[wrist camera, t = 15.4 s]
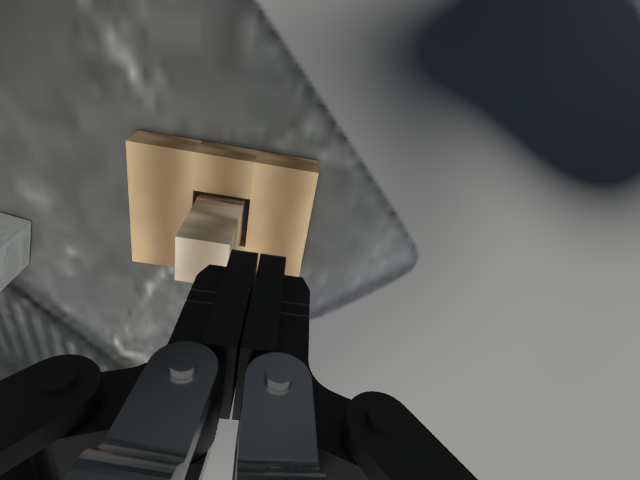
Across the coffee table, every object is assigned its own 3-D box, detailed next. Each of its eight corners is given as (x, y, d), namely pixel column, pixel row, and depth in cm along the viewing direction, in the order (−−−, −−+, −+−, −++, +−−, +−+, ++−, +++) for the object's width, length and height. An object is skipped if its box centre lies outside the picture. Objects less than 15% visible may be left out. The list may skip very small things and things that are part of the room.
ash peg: (203, 220, 41) (174, 280, 33) (205, 182, 39) (174, 235, 31) (245, 226, 42) (226, 287, 33) (249, 189, 40) (230, 244, 31)
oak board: (143, 244, 43) (132, 261, 40) (139, 129, 37) (125, 140, 34) (298, 267, 44) (297, 284, 42) (318, 160, 38) (318, 173, 36)
